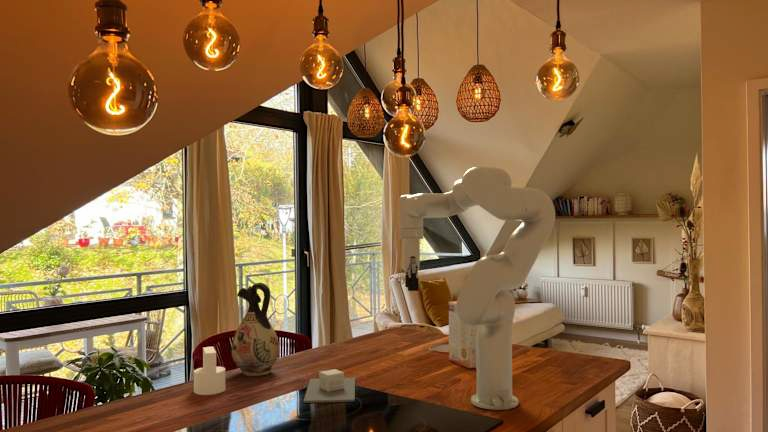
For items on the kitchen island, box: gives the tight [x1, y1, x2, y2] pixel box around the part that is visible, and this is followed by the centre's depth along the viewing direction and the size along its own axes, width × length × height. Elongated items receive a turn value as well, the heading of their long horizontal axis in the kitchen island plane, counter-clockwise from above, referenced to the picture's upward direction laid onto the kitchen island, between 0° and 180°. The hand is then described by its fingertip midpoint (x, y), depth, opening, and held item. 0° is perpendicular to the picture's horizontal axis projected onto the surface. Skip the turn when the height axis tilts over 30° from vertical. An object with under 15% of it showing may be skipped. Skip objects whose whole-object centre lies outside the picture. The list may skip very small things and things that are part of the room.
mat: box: [303, 377, 356, 404], centre depth 172 cm, size 22×14×1 cm, turn 2°
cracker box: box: [448, 300, 479, 369], centre depth 202 cm, size 14×6×21 cm, turn 22°
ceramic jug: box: [231, 282, 280, 377], centre depth 192 cm, size 17×15×30 cm
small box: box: [318, 368, 345, 392], centre depth 172 cm, size 6×6×5 cm
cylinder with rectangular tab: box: [193, 346, 226, 396], centre depth 174 cm, size 9×9×12 cm
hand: (411, 288), depth 183 cm, fingers open, 9 cm apart
